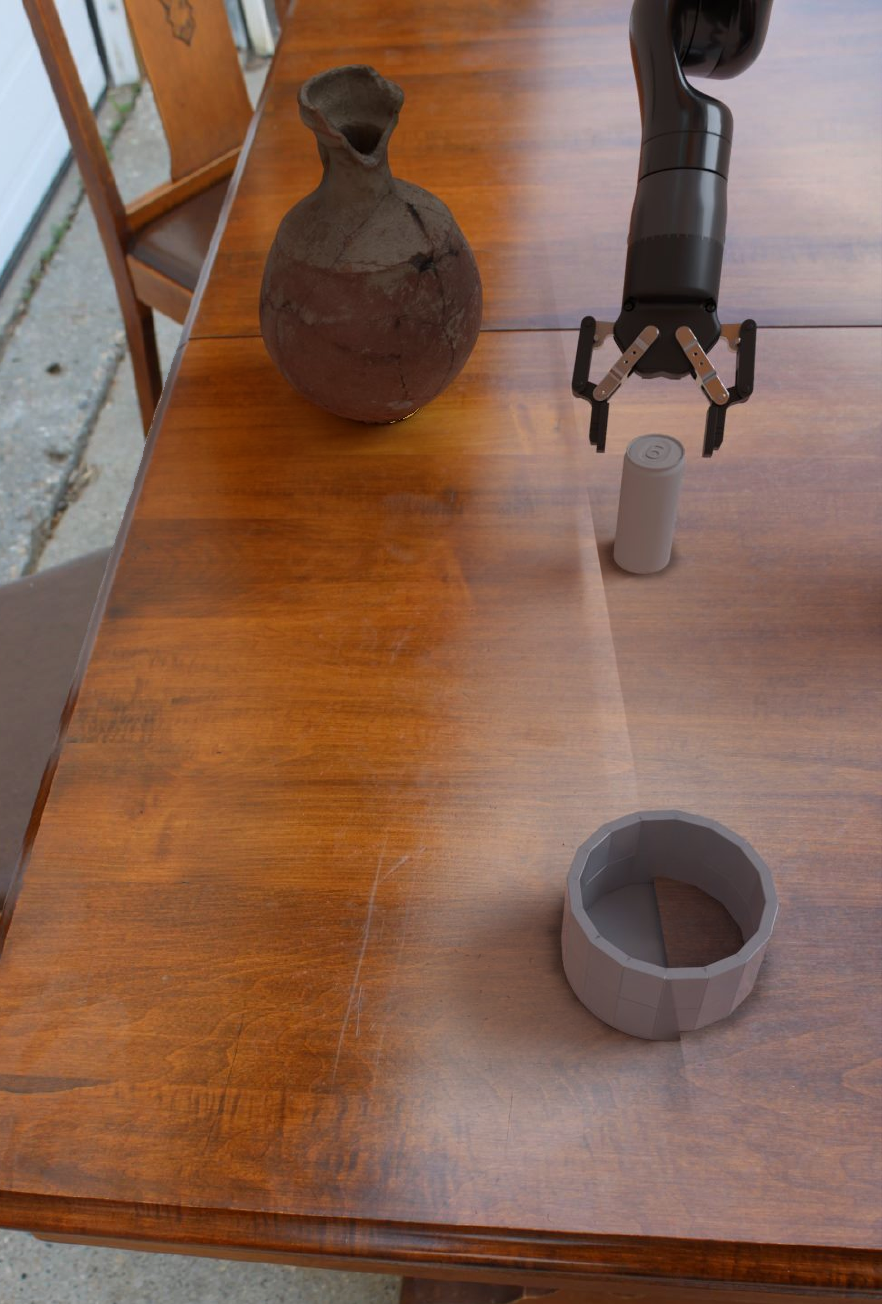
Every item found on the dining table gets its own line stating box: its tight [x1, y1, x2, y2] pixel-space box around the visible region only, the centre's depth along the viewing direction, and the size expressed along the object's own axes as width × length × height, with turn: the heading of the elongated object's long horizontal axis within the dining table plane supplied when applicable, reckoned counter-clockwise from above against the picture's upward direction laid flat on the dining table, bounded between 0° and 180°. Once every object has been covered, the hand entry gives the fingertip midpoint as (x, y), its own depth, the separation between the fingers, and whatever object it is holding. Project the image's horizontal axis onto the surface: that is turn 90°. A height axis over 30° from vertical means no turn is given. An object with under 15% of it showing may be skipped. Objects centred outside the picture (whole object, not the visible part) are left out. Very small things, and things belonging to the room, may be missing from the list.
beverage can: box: [612, 433, 687, 575], centre depth 99 cm, size 5×5×12 cm
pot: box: [560, 809, 780, 1042], centre depth 78 cm, size 13×13×8 cm
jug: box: [258, 63, 484, 425], centre depth 112 cm, size 22×22×30 cm
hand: (653, 454), depth 98 cm, fingers open, 8 cm apart
